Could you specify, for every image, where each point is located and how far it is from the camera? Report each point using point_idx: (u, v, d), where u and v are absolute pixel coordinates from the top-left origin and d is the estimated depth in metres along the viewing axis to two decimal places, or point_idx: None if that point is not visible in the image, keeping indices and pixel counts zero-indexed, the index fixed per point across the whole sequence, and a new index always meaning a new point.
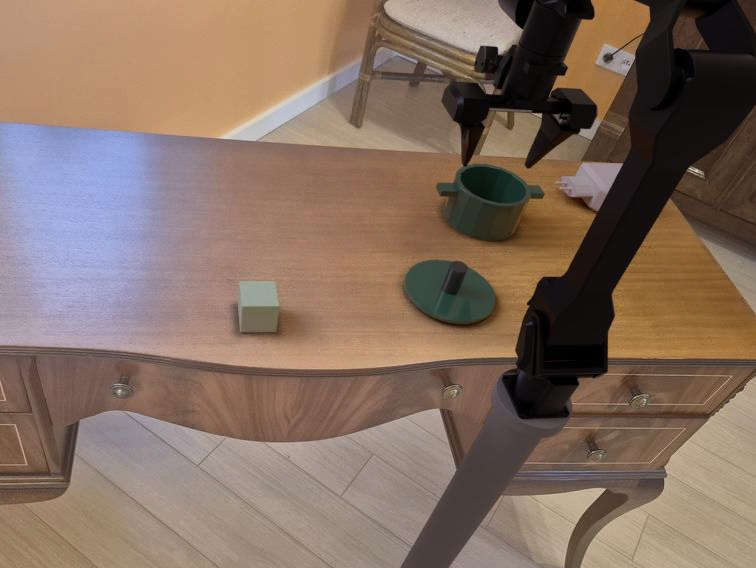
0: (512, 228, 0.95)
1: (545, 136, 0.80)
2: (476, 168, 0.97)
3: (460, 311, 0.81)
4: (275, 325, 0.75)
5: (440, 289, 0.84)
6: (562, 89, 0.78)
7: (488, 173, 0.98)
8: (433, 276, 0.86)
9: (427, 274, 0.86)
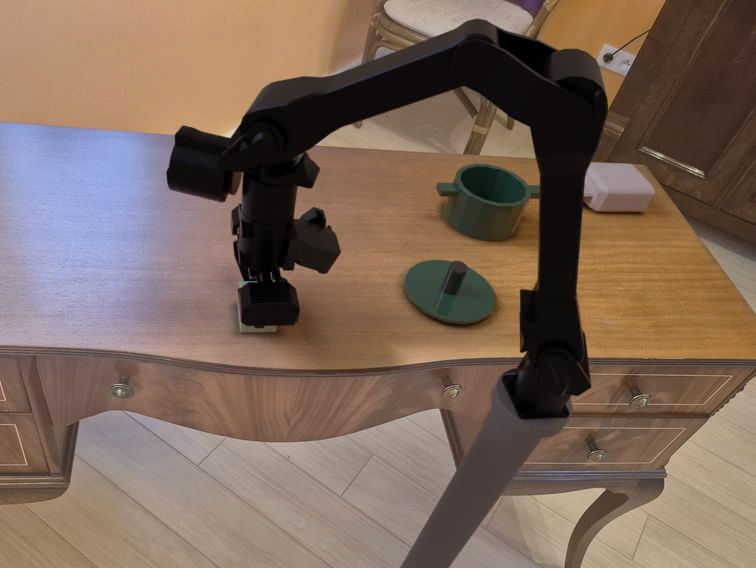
0: (512, 228, 0.95)
1: None
2: (476, 168, 0.97)
3: (460, 311, 0.81)
4: None
5: (440, 289, 0.84)
6: (284, 284, 0.66)
7: (488, 173, 0.98)
8: (433, 276, 0.86)
9: (427, 274, 0.86)
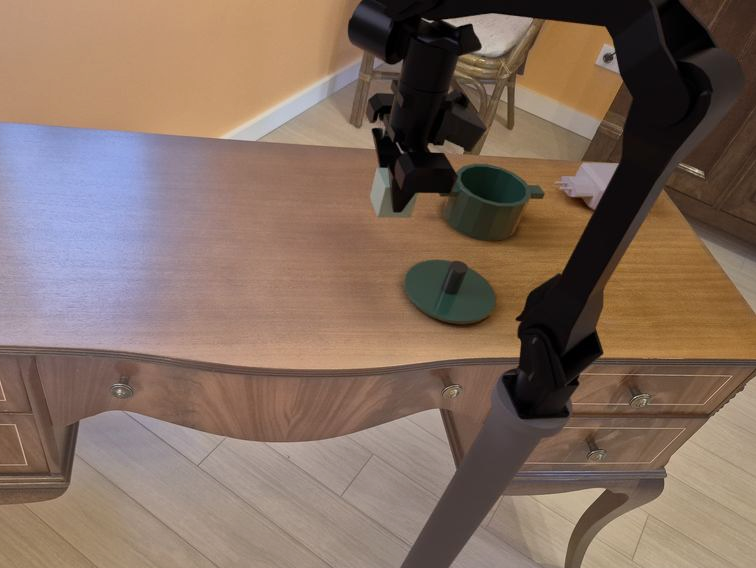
0: (512, 228, 0.95)
1: None
2: (476, 168, 0.97)
3: (460, 311, 0.81)
4: (411, 210, 0.78)
5: (440, 289, 0.84)
6: (440, 154, 0.68)
7: (488, 173, 0.98)
8: (433, 276, 0.86)
9: (427, 274, 0.86)
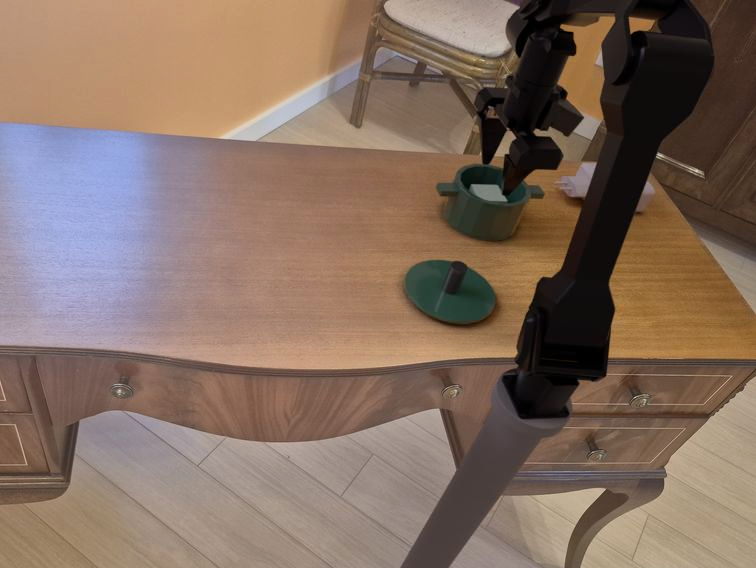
0: (512, 228, 0.95)
1: None
2: (476, 168, 0.97)
3: (460, 311, 0.81)
4: None
5: (440, 289, 0.84)
6: (548, 138, 0.82)
7: (488, 173, 0.98)
8: (433, 276, 0.86)
9: (427, 274, 0.86)
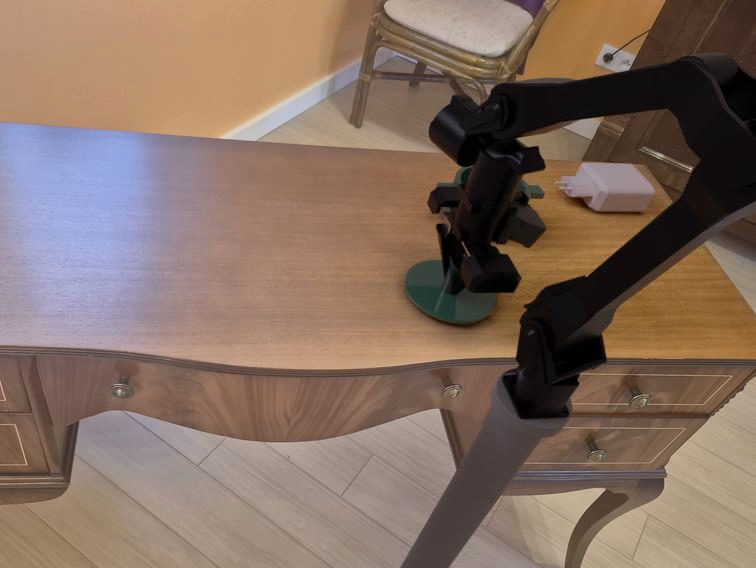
0: None
1: None
2: None
3: (460, 311, 0.81)
4: None
5: (440, 289, 0.84)
6: (504, 256, 0.73)
7: None
8: (433, 276, 0.86)
9: (427, 274, 0.86)
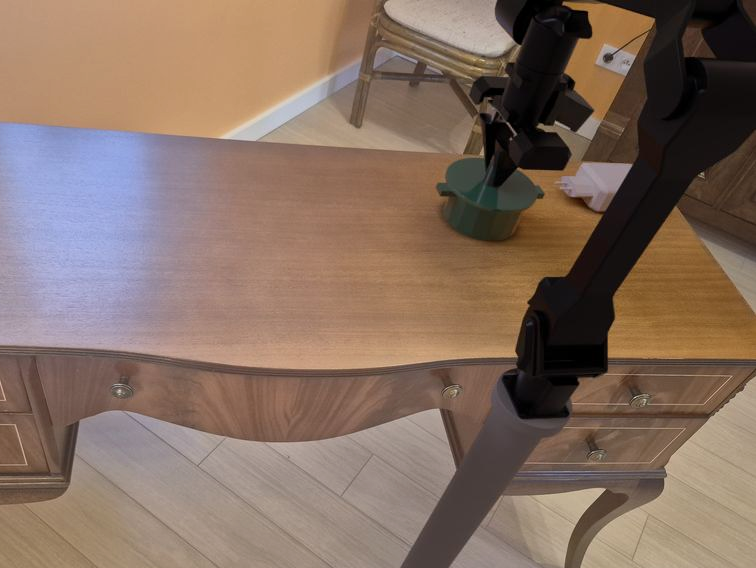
0: (512, 228, 0.95)
1: None
2: None
3: (503, 201, 0.81)
4: None
5: (481, 182, 0.83)
6: (554, 134, 0.72)
7: None
8: (474, 171, 0.85)
9: (468, 169, 0.85)
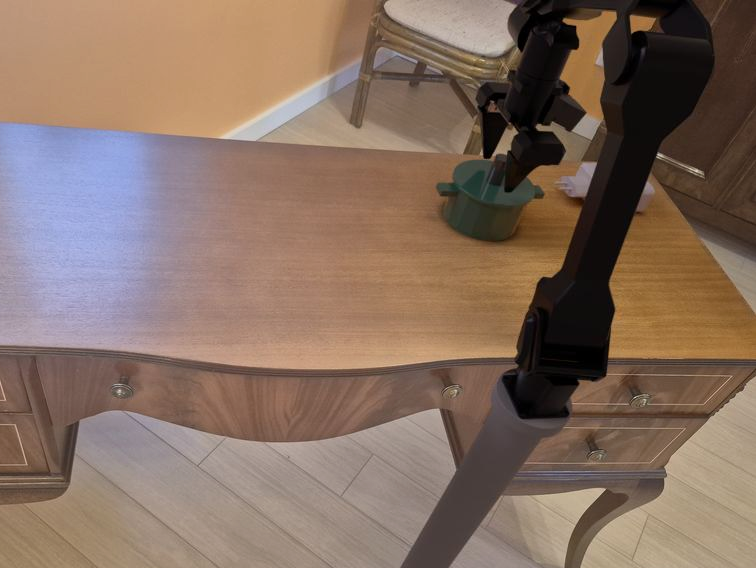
0: (512, 228, 0.95)
1: None
2: None
3: (504, 198, 0.91)
4: None
5: (485, 181, 0.93)
6: (550, 132, 0.82)
7: None
8: (478, 171, 0.95)
9: (472, 170, 0.95)
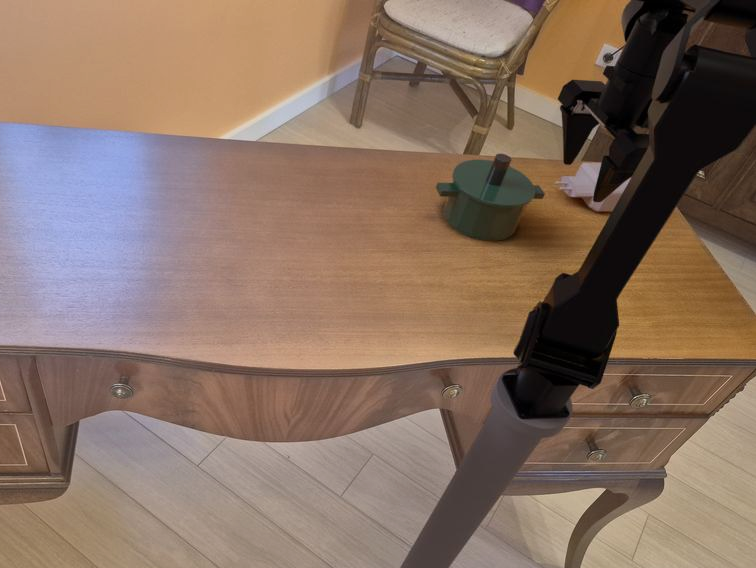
0: (512, 228, 0.95)
1: None
2: None
3: (504, 198, 0.91)
4: None
5: (485, 181, 0.93)
6: None
7: None
8: (478, 171, 0.95)
9: (472, 170, 0.95)
